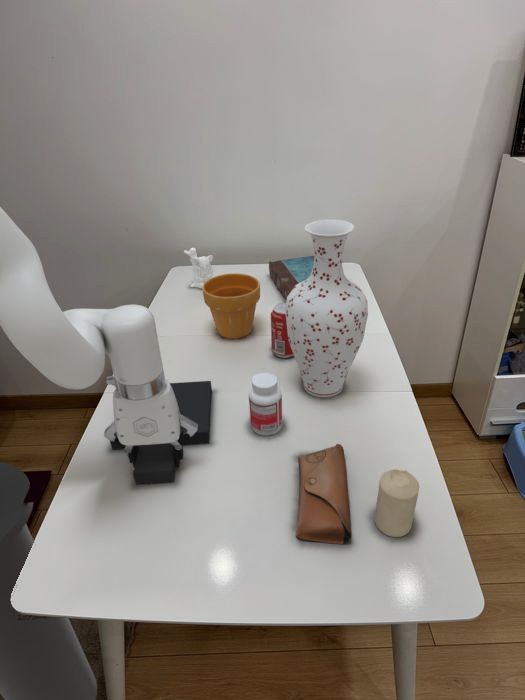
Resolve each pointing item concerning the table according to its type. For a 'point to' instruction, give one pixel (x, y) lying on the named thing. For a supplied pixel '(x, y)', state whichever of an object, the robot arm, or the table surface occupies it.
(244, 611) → the table surface
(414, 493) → the candle
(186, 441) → the robot arm
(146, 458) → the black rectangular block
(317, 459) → the sunglasses case
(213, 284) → the flower pot
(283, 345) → the beverage can
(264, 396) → the pill bottle
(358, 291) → the vase
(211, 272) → the white animal figurine
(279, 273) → the book
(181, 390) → the base pad
